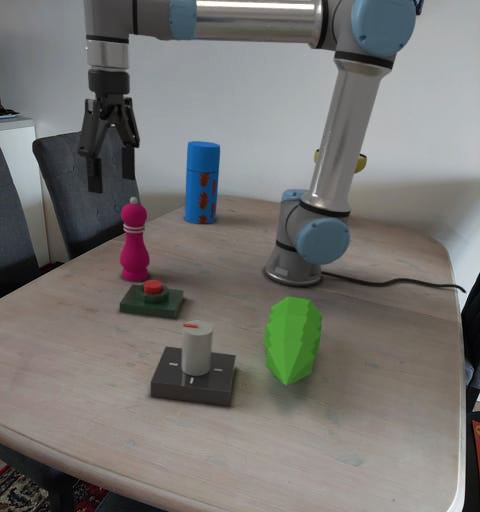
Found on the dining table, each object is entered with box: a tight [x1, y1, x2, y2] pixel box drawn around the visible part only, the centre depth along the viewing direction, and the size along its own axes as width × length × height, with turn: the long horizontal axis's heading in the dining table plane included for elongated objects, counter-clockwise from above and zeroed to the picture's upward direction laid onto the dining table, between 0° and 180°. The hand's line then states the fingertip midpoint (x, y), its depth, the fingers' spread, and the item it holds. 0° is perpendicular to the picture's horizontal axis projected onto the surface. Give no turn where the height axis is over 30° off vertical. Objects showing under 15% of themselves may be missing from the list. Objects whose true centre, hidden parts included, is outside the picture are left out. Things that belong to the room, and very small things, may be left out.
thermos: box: [184, 140, 221, 225], centre depth 158 cm, size 11×11×25 cm
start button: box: [143, 279, 163, 294], centre depth 103 cm, size 4×4×2 cm
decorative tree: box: [262, 295, 323, 386], centre depth 87 cm, size 11×12×30 cm
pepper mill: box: [119, 196, 151, 282], centre depth 113 cm, size 7×7×20 cm
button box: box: [119, 283, 185, 320], centre depth 104 cm, size 12×10×4 cm
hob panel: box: [150, 346, 237, 407], centre depth 82 cm, size 13×11×3 cm
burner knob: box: [181, 319, 214, 376], centre depth 79 cm, size 5×5×8 cm
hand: (113, 185), depth 97 cm, fingers open, 13 cm apart
